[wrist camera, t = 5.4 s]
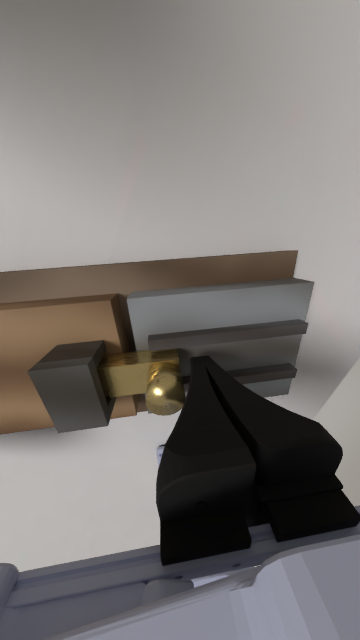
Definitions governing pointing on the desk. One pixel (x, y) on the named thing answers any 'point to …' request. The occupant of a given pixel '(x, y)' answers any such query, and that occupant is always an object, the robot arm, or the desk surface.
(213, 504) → the robot arm
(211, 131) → the desk surface
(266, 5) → the desk surface
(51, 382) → the door mockup
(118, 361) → the bolt
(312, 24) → the desk surface
